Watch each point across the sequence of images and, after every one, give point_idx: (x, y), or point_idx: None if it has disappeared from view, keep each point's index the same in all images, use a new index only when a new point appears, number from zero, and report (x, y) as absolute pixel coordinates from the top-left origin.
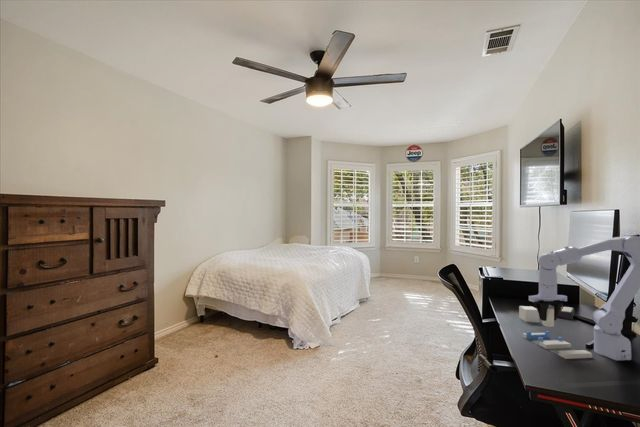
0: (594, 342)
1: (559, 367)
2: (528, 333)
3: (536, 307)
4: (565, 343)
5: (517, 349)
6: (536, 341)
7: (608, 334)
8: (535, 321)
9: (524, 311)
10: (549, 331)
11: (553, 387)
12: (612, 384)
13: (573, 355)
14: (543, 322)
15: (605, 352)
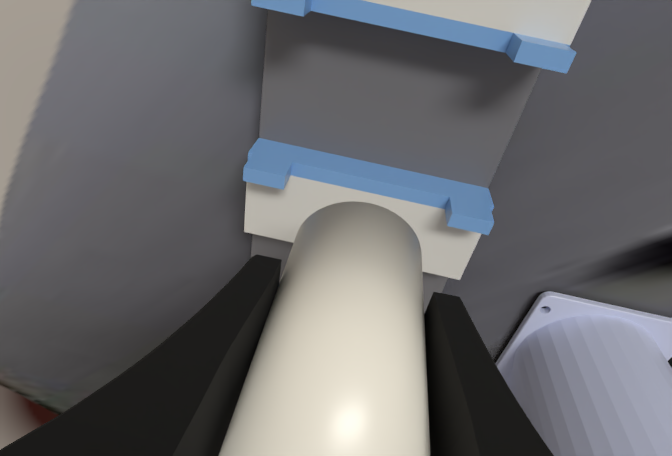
0: (563, 384)
1: (167, 332)
2: (271, 5)
3: (90, 404)
4: (423, 263)
5: (72, 111)
6: (310, 79)
7: None
8: None
9: None
10: (566, 70)
11: (33, 388)
12: None
13: None
14: (287, 260)
15: (516, 396)
